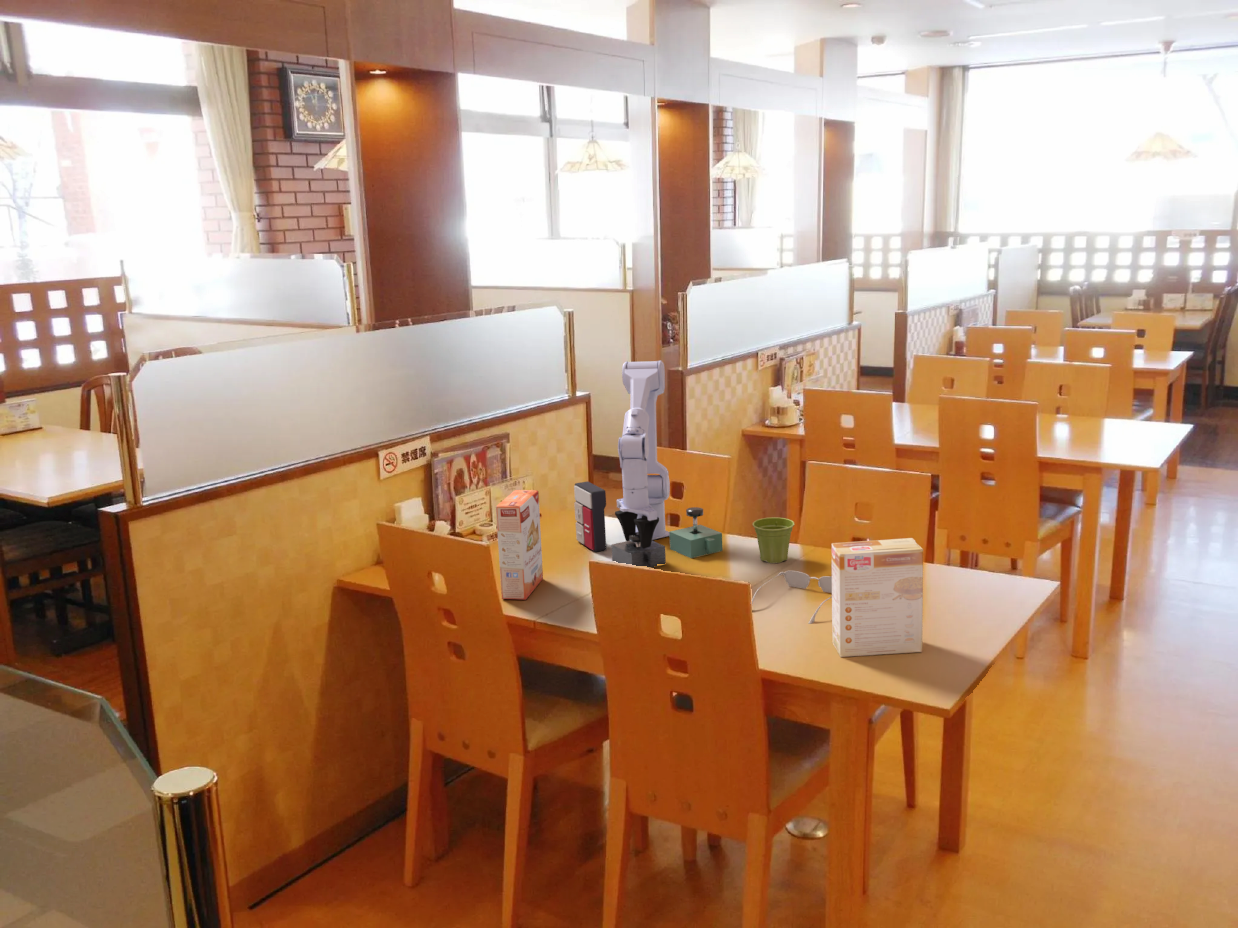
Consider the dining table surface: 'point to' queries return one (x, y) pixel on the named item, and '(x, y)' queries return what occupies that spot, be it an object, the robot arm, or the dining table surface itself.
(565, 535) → the dining table surface
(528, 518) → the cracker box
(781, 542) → the plant pot
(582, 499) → the red grey tall block
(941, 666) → the dining table surface
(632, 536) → the charcoal plunger
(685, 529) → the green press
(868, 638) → the coffeecake box
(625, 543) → the charcoal press
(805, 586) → the eyeglasses
